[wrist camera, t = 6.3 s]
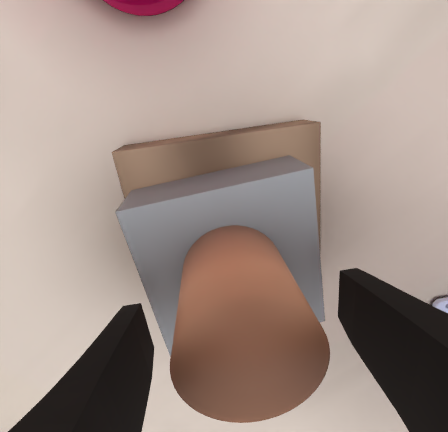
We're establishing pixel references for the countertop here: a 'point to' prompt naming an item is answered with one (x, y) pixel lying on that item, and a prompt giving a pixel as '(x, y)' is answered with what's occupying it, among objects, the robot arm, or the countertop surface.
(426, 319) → the robot arm
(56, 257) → the countertop surface
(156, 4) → the pepper mill
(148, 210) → the tower top
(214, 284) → the cylinder
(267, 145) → the tower base
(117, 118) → the countertop surface
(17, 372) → the countertop surface
